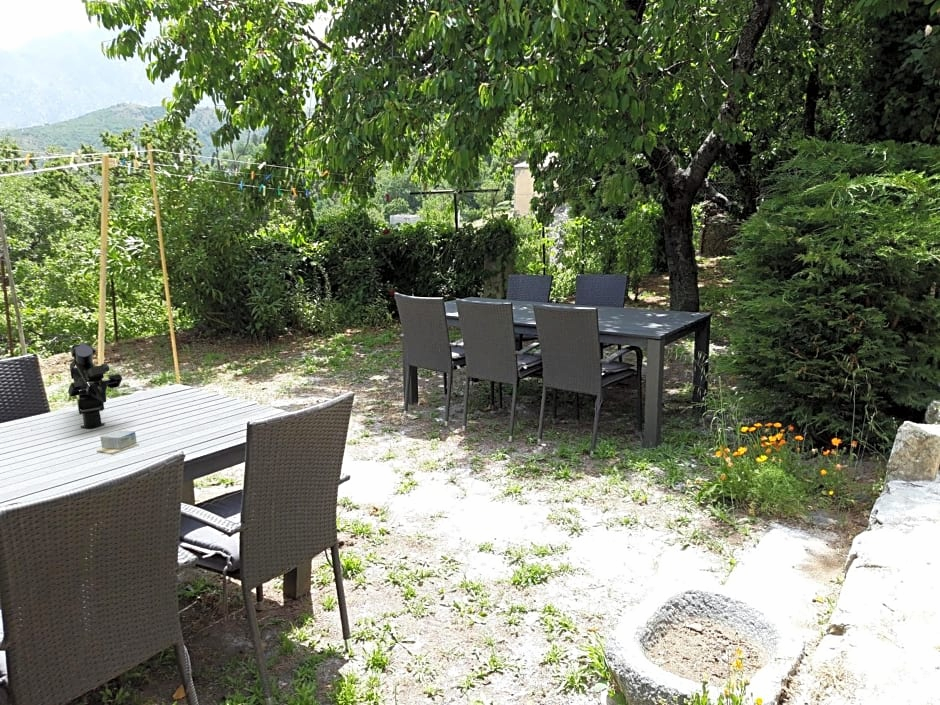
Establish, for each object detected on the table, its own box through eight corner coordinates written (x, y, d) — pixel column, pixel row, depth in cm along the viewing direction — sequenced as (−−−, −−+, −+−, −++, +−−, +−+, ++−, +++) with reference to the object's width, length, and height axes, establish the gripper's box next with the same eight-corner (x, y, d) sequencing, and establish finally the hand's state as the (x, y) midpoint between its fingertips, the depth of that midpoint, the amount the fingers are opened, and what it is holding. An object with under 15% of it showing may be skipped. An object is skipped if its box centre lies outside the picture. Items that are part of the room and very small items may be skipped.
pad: (96, 452, 247) (96, 450, 247) (123, 442, 257) (123, 441, 257) (112, 454, 244) (111, 453, 243) (138, 445, 253) (138, 443, 253)
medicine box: (101, 448, 250) (120, 450, 247) (99, 436, 249) (118, 438, 246) (118, 441, 257) (137, 443, 254) (117, 429, 256) (135, 431, 253)
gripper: (67, 362, 260) (84, 394, 256) (117, 353, 275) (134, 384, 270) (60, 380, 266) (78, 412, 262) (110, 371, 281) (126, 401, 276)
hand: (105, 401), depth 267 cm, fingers closed
